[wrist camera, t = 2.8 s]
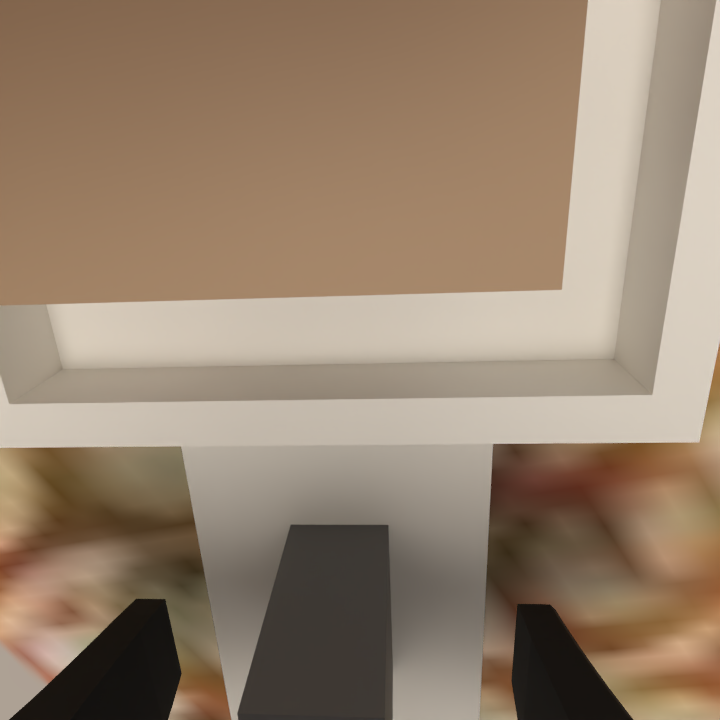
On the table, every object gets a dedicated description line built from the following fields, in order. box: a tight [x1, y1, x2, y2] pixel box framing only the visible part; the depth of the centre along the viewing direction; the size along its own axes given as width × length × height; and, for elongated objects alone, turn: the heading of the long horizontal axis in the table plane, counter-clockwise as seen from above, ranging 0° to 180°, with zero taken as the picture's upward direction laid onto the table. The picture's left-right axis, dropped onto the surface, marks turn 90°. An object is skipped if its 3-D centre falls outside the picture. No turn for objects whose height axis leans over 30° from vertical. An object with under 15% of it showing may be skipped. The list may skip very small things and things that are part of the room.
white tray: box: [0, 0, 720, 720], centre depth 8 cm, size 20×12×5 cm, turn 3°
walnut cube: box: [0, 0, 588, 306], centre depth 6 cm, size 5×5×5 cm
